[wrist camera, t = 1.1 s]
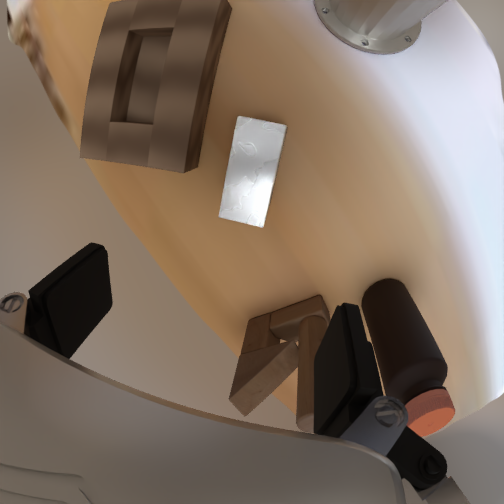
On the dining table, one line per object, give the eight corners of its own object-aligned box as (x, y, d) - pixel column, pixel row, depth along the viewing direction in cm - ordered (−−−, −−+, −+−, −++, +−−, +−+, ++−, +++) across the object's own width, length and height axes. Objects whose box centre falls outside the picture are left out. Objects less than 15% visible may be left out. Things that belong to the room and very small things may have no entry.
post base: (128, 12, 23) (109, 2, 19) (232, 8, 23) (223, -7, 19) (101, 152, 32) (79, 157, 28) (197, 167, 31) (183, 173, 27)
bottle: (351, 302, 36) (379, 434, 18) (388, 268, 33) (450, 390, 15) (380, 327, 37) (414, 448, 19) (415, 296, 34) (473, 411, 16)
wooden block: (247, 319, 39) (219, 429, 23) (320, 293, 36) (332, 409, 20) (259, 337, 40) (239, 445, 24) (330, 313, 37) (343, 428, 21)
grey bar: (251, 119, 28) (237, 115, 21) (287, 127, 28) (286, 125, 21) (235, 196, 32) (218, 217, 25) (269, 204, 32) (262, 227, 25)
